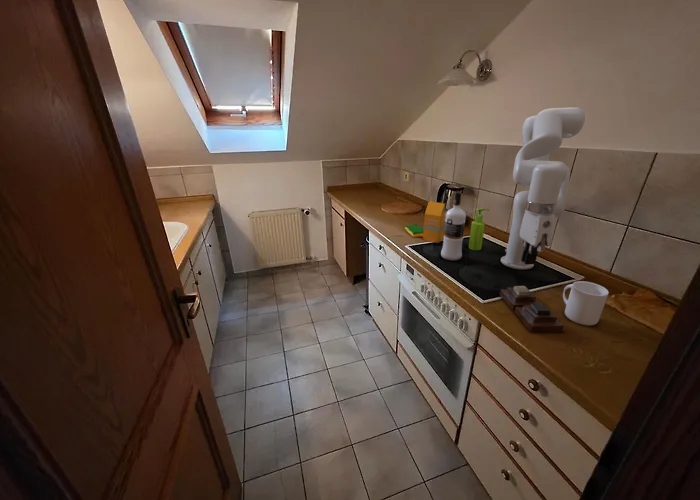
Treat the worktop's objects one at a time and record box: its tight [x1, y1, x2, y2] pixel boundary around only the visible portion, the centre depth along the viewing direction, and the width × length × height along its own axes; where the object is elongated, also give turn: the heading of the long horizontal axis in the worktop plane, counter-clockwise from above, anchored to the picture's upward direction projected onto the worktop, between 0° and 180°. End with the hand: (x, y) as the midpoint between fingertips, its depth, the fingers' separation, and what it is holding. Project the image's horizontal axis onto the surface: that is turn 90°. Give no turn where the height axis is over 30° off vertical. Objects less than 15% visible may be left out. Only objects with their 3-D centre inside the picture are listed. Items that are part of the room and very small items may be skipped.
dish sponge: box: [404, 224, 424, 238], centre depth 169 cm, size 7×14×2 cm, turn 9°
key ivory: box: [513, 285, 531, 295], centre depth 100 cm, size 4×4×2 cm
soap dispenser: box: [467, 207, 490, 251], centre depth 142 cm, size 6×7×20 cm
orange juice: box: [422, 201, 447, 244], centre depth 155 cm, size 8×9×20 cm
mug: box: [562, 280, 610, 326], centre depth 93 cm, size 9×12×11 cm
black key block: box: [514, 305, 565, 333], centre depth 91 cm, size 10×9×4 cm
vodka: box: [440, 191, 467, 262], centre depth 132 cm, size 9×9×30 cm
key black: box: [530, 303, 551, 315], centre depth 90 cm, size 4×4×2 cm
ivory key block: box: [498, 286, 542, 312], centre depth 101 cm, size 10×9×4 cm
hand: (527, 262), depth 96 cm, fingers closed
